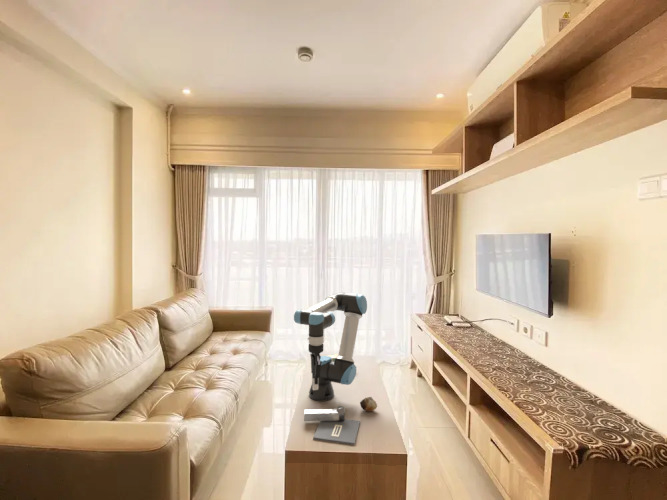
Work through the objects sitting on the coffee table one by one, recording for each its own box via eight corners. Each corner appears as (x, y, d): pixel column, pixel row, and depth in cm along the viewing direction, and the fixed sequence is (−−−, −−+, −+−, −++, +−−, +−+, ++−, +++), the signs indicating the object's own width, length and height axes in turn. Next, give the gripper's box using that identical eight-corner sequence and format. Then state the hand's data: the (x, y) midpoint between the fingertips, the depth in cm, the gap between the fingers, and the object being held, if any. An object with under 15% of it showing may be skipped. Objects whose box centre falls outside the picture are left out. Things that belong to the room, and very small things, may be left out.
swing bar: (344, 417, 181) (344, 406, 181) (344, 421, 177) (345, 409, 177) (304, 417, 179) (304, 406, 179) (304, 422, 175) (304, 410, 175)
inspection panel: (322, 417, 183) (323, 415, 183) (360, 422, 179) (360, 420, 179) (313, 439, 163) (313, 436, 163) (354, 445, 159) (354, 442, 159)
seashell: (376, 408, 193) (376, 394, 193) (377, 414, 188) (377, 399, 187) (359, 408, 194) (360, 394, 193) (360, 413, 188) (360, 399, 188)
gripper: (305, 340, 178) (305, 384, 179) (312, 348, 165) (311, 396, 166) (319, 339, 180) (319, 383, 181) (326, 347, 168) (326, 394, 169)
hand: (315, 389), depth 174 cm, fingers closed
